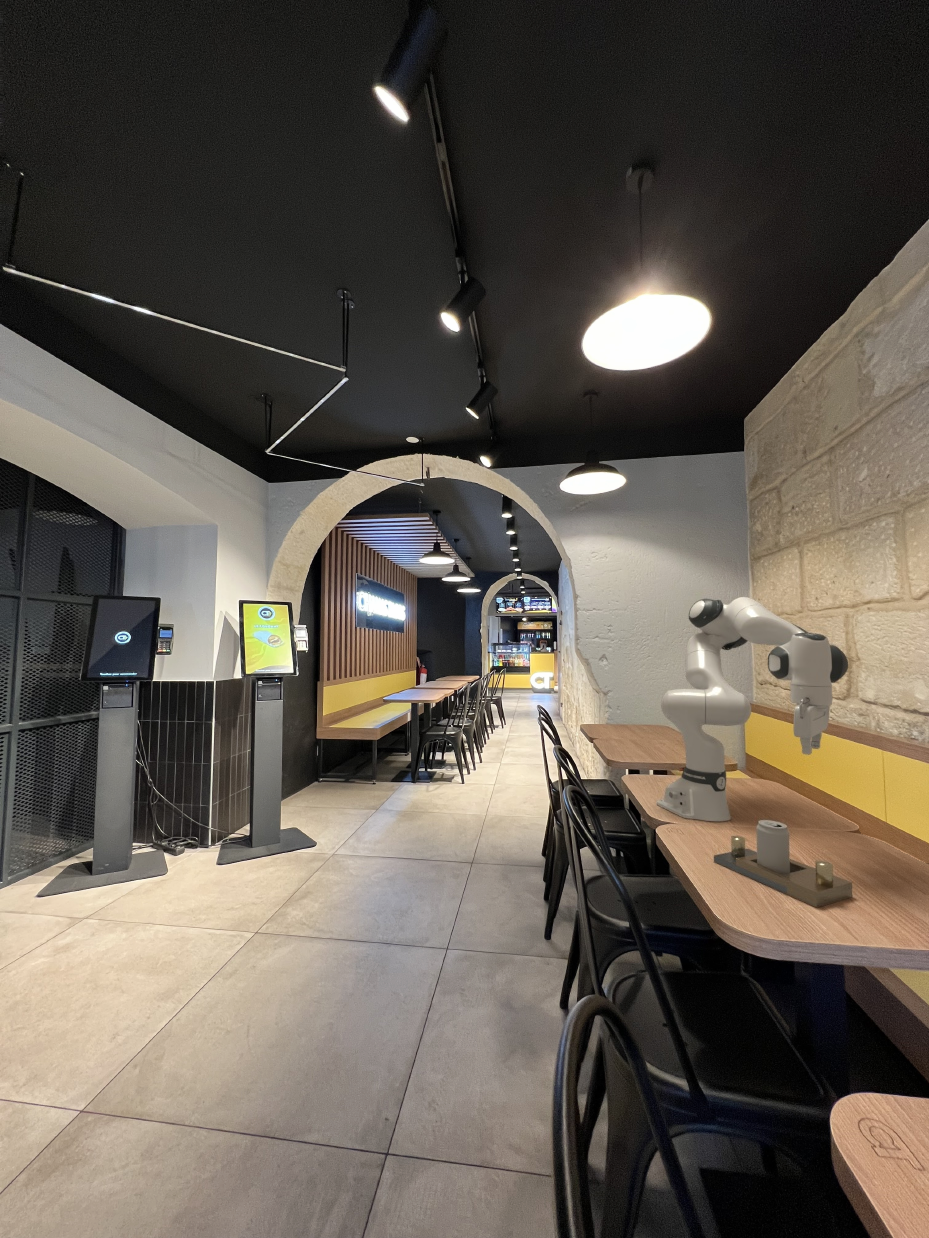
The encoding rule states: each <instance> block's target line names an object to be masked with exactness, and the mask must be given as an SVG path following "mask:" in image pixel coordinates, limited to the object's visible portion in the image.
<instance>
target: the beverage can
mask: <svg viewBox="0 0 929 1238" xmlns="http://www.w3.org/2000/svg"><path fill="white" fill-rule="evenodd" d="M756 852H757V864H760V865H762V866H764V867H767V868H769V869H772V870H774V871H776V872H779V873H781V874H788V873H790V859H791V858H790V857H791V855H790V831H789V830H788V825H786V824H785V823H783V822H779V821H776V820H770V819H762V820H758V824H757V825H756Z"/></svg>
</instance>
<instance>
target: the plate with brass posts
mask: <svg viewBox="0 0 929 1238" xmlns="http://www.w3.org/2000/svg"><path fill="white" fill-rule="evenodd" d="M730 846H731V847H730V848H731V849H730V851H729V852H725V853H719V854H714V855H713V863H715V864H718V865H720V866H722V867H725V868H727V869H728V870H732V871H733V872H736V873H738V874H740V875H743V876H745V877H747V878H748V879H749V878H750V880H754V881H756V882H759V883H760V884H763V885H765V886H766V887H769V888H772V889H774V890H776V891H779V892H781V893H783V894H785V895H787V896H789V897H792V898H794V899H796V900H798V901H801V902H803V903H805V904H807V905H809V906H812V907H814V908H816V909H817V908H822V907H824V906H828V905H831V904H835V903H837V902H841V901H844V900H847V899H851V898H853V882H851V881H850V880H848V879H845V878H841V877H839V876H836V875H835V874H834V865H833V864H832V863H831V862H829V861H826V860H825V861H824V860H815V863H814V865H815V867H812V866H811V865H807V864H805V863H802V862H799V861H797V860H794V859H792V858H790V873H788V874H781V873H779V872H776V871H774V870H772V869H769V868H767V867H764V866H762V865H760V864H757V851H754V850H752V849H749V848H746V838H745V837H743V836H738V835H732V836H731V838H730Z"/></svg>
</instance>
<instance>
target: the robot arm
mask: <svg viewBox="0 0 929 1238" xmlns="http://www.w3.org/2000/svg"><path fill="white" fill-rule="evenodd" d="M688 620H689V622H690V623H691V624H692V625H693V626H694V627H695V628H698V629H699V630H700V631H701V632H697V633H695V634H693V635H692V636H691V637H689V639H688V641H687V645H686V649H685V679H686V680H687V682H688V684H689V685H690V686H691V687H693V688H677V689H669V690H667V691H666V692H665V693H664V695H663V696H662V699H661V702H660V707H661V711H662V713H663V716H664V717H665V718H666V719H667V720H668V721H670V722H671V723H672V724H673V725H674V726H675V727H676V728H677V729H678V731H679V732H680V734H681V736H682V739H683V742H684V747H685V751H684V752H685V766H684V767H679V768H678V769H679V770H678V771H679V772H682V773H681V775H680V777H679V778H678V779H676V780H674V781H673V782H672V783H670V784H668V785H667V786H666V787H665V790H664V794H663V795H664V798H661V799H658V800H656V805H657V806H659V807H661V808H662V809H665V810H666V811H669V812H671V813H673V814H676V815H677V816H678V817H679V816H680V817H681V818H683V819H691V820H698V821H707V822H725V821H730V820H731V818H732V816H731V814H730V810H729V806H728V799H727V791H726V786H727V771H726V769H725V763H726V762H725V746H724V745H723V743H722V742H721V741H720V740H718V739H717V738H716V737H714V736H713V735H710V734H709V733H706V732H705V731H704V729H703V728H702V727H703V726H705V725H708V726H721V727H722V726H723V727H731V726H732V727H734V726H741V725H745V724H746V723H747V722H748V721H749V719H750V717H751V715H752V705H751V702H750V700H749V699H748V698H747V696H746V695H745V694H743V693H741V692H739V691H737V690H736V689H735V688H734V687H732V686H731V685H730V684H729V683H728V682H727V681H726V679H725V678H724V674H723V670H722V669H723V668H722V660H721V657H722V656H721V650H725V651H729V650H730V651H731V650H732V649H737V648H740V647H741V646H743V645H746V643H747V642H749V643H752V644H756V645H766V646H776V647H774V648H772V650H771V651H770V652H769V653H768V657H767V669H768V672H770V674H771V675H772V676H773V677H775V678H776V679H777V680H782V681H789V682H790V687H789V688H790V690H789V691H790V696H789V697H790V702H791V703H792V704H795V707H794V710H793V731H792V732H793V735H794V737H796V738H799V739H800V740H799V741H800V745H801V753H802V754H803V755H806V756H807V755H808V756H809V755H812V752H813V749H814V750H819V749H820V748H821V739H822V735H823V733H822V732H824V731H825V730H827V728H828V726H829V722H830V721H829V719H830V709H831V708H830V707H831V705H833V684H834V683H837V682H838V681H839V680H841V679H842V678H843V677H844V676H845V674H846V673H847V672H848V670H849V660H848V657H847V656H846V654H845V653H844V652H843V651H842V649H840V648H839V647H838V646H836V645H834V644H833V645H832V644H830V641H829V639H828V637H827V636H825V635H823V634H820V633H815V632H814V633H813V632H809V631H807V630H805V629H803V628H802V627H801V626H800V625H799V626H798V625H797V624H794V623H793V622H790V621H788V620H786V619H784V618H782V617H780V616H778V615H776V614H775V613H774V612H772V611H770V610H769V609H768V608H766V607H765V605H763V604H762V603H760V602H759V601H757V600H755V599H753V598H751V597H747V596H741V597H738V598H737V597H736V598H735V599H733V600H732V601H730V602H729V604H725V603H723V602H722V600H721V599H712V598H702V599H699V600H696V601H695V603H693V605H692V606H691V607H690V609H689V611H688Z"/></svg>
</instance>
